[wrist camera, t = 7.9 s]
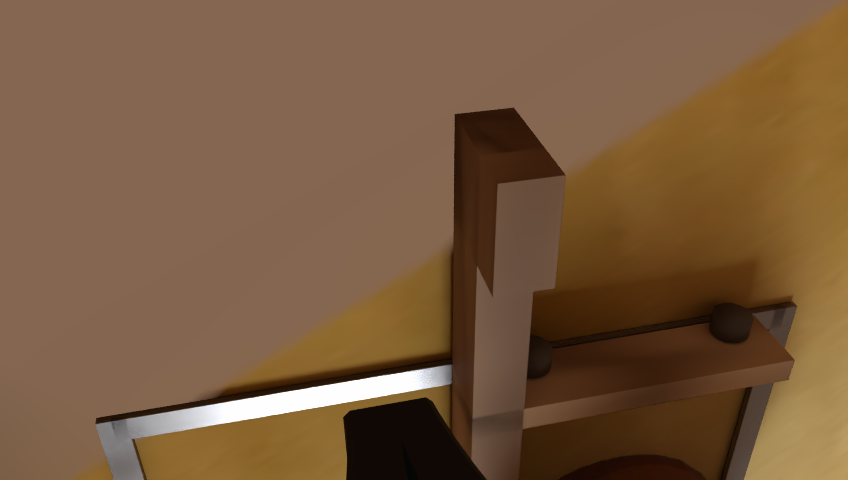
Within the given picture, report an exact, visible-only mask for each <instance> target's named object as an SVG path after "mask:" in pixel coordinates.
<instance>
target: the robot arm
mask: <svg viewBox="0 0 848 480" xmlns="http://www.w3.org/2000/svg"><path fill="white" fill-rule="evenodd" d="M343 419H344V430H345V440H346V451H347V476H346V480H487V479H486V478H485V477H484V475H483V474H482V473H481V472H480V470H479V469H478V468H477V466H476V465H475V464H474V462H473V461H472V460H471V458H470V457H469V456H468V454H467V453H466V452H465V450H464V449H463V448H462V446H461V445H460V443H459V442H458V441H457V439H456V438H455V436H454V435H453V433H452V432H451V431H450V429H449V427H448V426H447V424H446V423H445V421H444V420H443V418H442V417H441V415H440V413H439V412H438V410H437V409H436V407H435V405H434V403H433V402H432V401H431V400H429V399H428V398H426V397H425V398H420V399H414V400H408V401H403V402H397V403H391V404H386V405H380V406H374V407H369V408H363V409H357V410H352V411H349V412H348V413H347V414H346V415H345V416H344V417H343Z"/></svg>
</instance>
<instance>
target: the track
mask: <svg viewBox="0 0 848 480" xmlns="http://www.w3.org/2000/svg"><path fill="white" fill-rule="evenodd" d="M796 308H797V306H796V305H795V304H794V303H793V302H789V303H783V304H777V305H771V306H765V307H759V308H753V309H747V310H749V311H750V312H751V314H752V315H754V316H755V317H756V318H757V319H758V320H759V321H760V322H761V323H762V324H763V325H764V327H765V328H766V329H767V330H768V331H769V332H770V333H771V334H772V335H773V337H774V338H775V339H776V340H777V341H778V342H779V343H780V344H781V345H782V347H783V348H784V347H785V344H786V341H787V337H788V334H789V331H790V328H791V324H792V321H793V318H794V315H795V311H796ZM711 316H712V315H711ZM711 316H705V317H699V318H693V319H687V320H681V321H675V322H669V323H663V324H657V325H651V326H645V327H639V328H633V329H627V330H621V331H615V332H609V333H603V334H597V335H591V336H585V337H579V338H573V339H567V340H561V341H555V342H549V343H550V344H551V346H552V348H553V349H554V348H560V347H566V346H572V345H578V344H584V343H590V342H596V341H602V340H608V339H614V338H620V337H626V336H632V335H638V334H644V333H649V332H655V331H661V330H667V329H673V328H679V327H685V326H691V325H697V324H703V323H709V322H710V320H711ZM452 370H453V359H447V360H441V361H435V362H429V363H423V364H417V365H411V366H405V367H399V368H393V369H388V370H382V371H376V372H370V373H364V374H358V375H352V376H346V377H340V378H334V379H328V380H322V381H316V382H310V383H304V384H298V385H292V386H286V387H280V388H274V389H268V390H262V391H256V392H250V393H244V394H238V395H232V396H226V397H220V398H214V399H208V400H202V401H196V402H190V403H184V404H178V405H172V406H166V407H160V408H154V409H148V410H143V411H136V412H130V413H124V414H118V415H112V416H106V417H100V418H96V427H97V430H98V433H99V436H100V439H101V442H102V445H103V448H104V451H105V454H106V457H107V460H108V463H109V466H110V469H111V472H112V475H113V478H114V480H146V477H145V474H144V471H143V467H142V464H141V461H140V457H139V454H138V451H137V447H136V444H135V441H134V439H136V438H141V437H147V436H153V435H159V434H164V433H170V432H176V431H182V430H188V429H193V428H199V427H205V426H211V425H217V424H222V423H228V422H234V421H240V420H246V419H251V418H257V417H263V416H269V415H275V414H280V413H286V412H292V411H298V410H304V409H309V408H315V407H321V406H327V405H333V404H338V403H344V402H350V401H356V400H361V399H367V398H373V397H379V396H385V395H390V394H396V393H402V392H408V391H414V390H419V389H425V388H431V387H437V386H443V385H448V384H452ZM773 383H774V382H773ZM773 383H768V384H763V385H757V386H752V387H747V391H746V394H745V398H744V401H743V405H742V408H741V412H740V415H739V419H738V422H737V426H736V429H735V433H734V436H733V440H732V443H731V447H730V451H729V454H728V458H727V461H726V465H725V468H724V472H723V475H722V479H721V480H744V477H745V474H746V471H747V467H748V464H749V461H750V458H751V454H752V451H753V448H754V445H755V441H756V438H757V435H758V432H759V428H760V425H761V422H762V419H763V415H764V412H765V409H766V406H767V402H768V399H769V396H770V393H771V389H772V386H773Z"/></svg>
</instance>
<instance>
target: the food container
mask: <svg viewBox="0 0 848 480" xmlns="http://www.w3.org/2000/svg"><path fill="white" fill-rule="evenodd" d="M558 480H706V479H705V478H704V477H703V476H702V474H701V473H699V472H698V471H696V470H695V469H693V468H692V467H690V466H689V465H687V464H685V463H684V462H682V461H681V460H678V459H673V458H669V457H664V456H659V455H631V456H622V457H617V458H613V459H608V460H604V461H600V462H597V463H594V464H591V465H588V466H585V467H582V468H580V469H578V470H576V471H574V472H571V473H569V474H567V475H565V476H563V477H561V478H559V479H558Z"/></svg>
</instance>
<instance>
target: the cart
mask: <svg viewBox="0 0 848 480" xmlns="http://www.w3.org/2000/svg"><path fill="white" fill-rule="evenodd" d="M454 152H455V153H454V159H455V160H454V259H453V370H452V433H453V435H454V436H455V438H456V439H457V441H458V442H459V443H460V445H461V446H462V448H463V449H464V450H465V452H466V453H467V454H468V456H469V457H470V458H471V460H472V461H473V462H474V464H475V465H476V466H477V468H478V469H479V470H480V472H481V473H482V474H483V475H484V477H485V478H486V479H487V480H519V469H520V456H521V443H522V431H523V429H526V428H531V427H537V426H542V425H547V424H553V423H558V422H564V421H569V420H574V419H580V418H585V417H590V416H596V415H601V414H607V413H612V412H617V411H623V410H628V409H633V408H639V407H644V406H650V405H655V404H660V403H666V402H671V401H677V400H682V399H687V398H693V397H698V396H703V395H709V394H714V393H720V392H725V391H730V390H736V389H741V388H746V387H752V386H757V385H763V384H768V383H773V382H779V381H784V380H788V379H789V376H790V373H791V370H792V367H793V364H794V361H795V360H794V359H793V358H792V357H791V355H790V354H789V353H788V352H787V351H786V350H785V349H784V348H783V347H782V345H781V344H780V343H779V342H778V341H777V340H776V339H775V338H774V337H773V335H772V334H771V333H770V332H769V331H768V330H767V329H766V328H765V327H764V325H763V324H762V323H761V322H760V321H759V320H758V319H757V318H756V317H755V316H754V315H752V314H751V312H750V311H749V310H747V309H746V308H744V307H742V306H740V305H737V304H732V303H723V304H719V305H717V306H715V307H714V309H713V312H712V316H711V320H710V322H709V323H703V324H697V325H691V326H685V327H679V328H673V329H667V330H661V331H655V332H649V333H644V334H638V335H632V336H626V337H620V338H614V339H608V340H602V341H596V342H590V343H584V344H578V345H572V346H566V347H560V348H554V349H553V348H552V346H551V344H550V343H549V342H548V341H547V340H545V339H543V338H541V337H538V336H530V328H531V315H532V302H533V292H535V291H541V290H548V289H554V288H555V281H556V271H557V261H558V250H559V240H560V229H561V219H562V208H563V198H564V188H565V177H566V175H565V174H564V172H563V171H562V170H561V168H560V167H559V166H558V165H557V163H556V162H555V161H554V159H553V158H552V157H551V155H550V154H549V153H548V152H547V150H546V149H545V148H544V146H543V145H542V144H541V143H540V141H539V140H538V139H537V137H536V136H535V135H534V133H533V132H532V131H531V130H530V128H529V127H528V126H527V125H526V123H525V122H524V120H523V119H522V118H521V117H520V115H519V114H518V113H517V111H516V110H515V109H514V108H507V109H498V110H489V111H480V112H471V113H462V114H455V151H454Z"/></svg>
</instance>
